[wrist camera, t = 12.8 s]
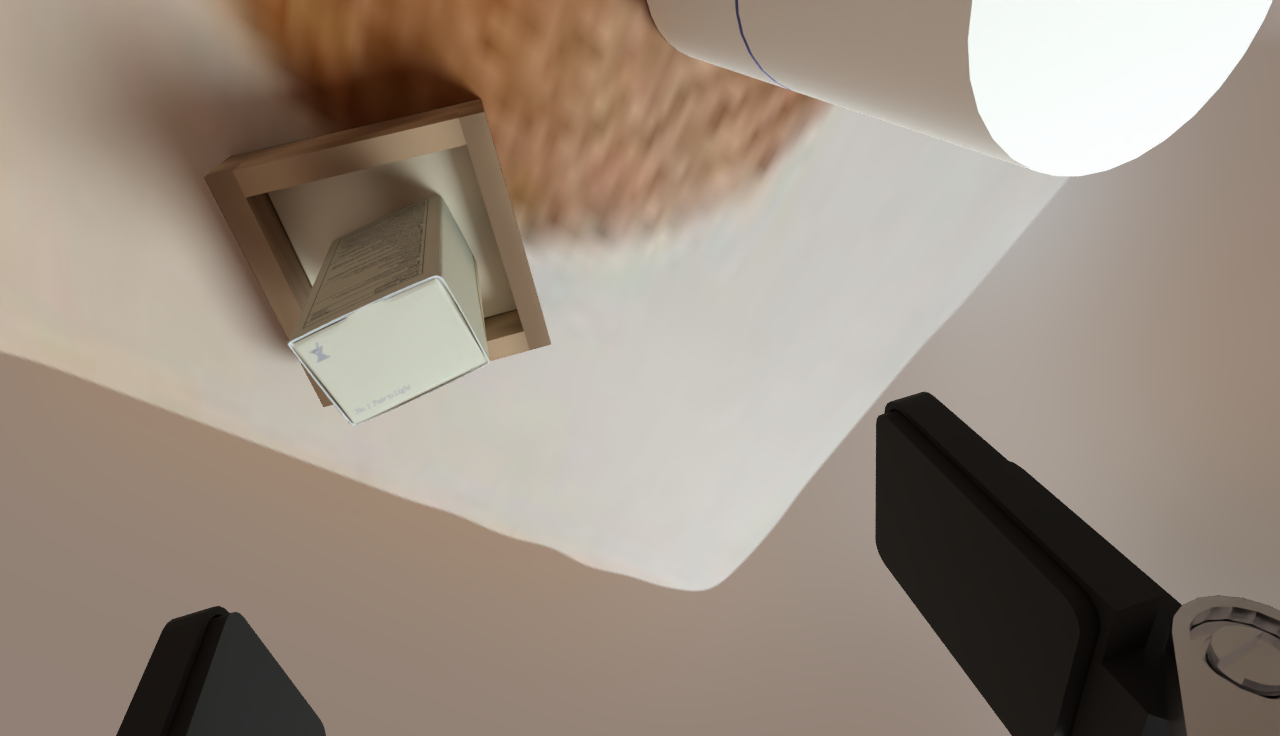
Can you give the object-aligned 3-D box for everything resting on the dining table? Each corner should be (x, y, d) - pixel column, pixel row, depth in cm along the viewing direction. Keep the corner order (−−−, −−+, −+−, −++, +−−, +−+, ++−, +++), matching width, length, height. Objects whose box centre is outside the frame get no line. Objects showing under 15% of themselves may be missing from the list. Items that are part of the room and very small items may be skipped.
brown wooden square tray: (481, 98, 34) (484, 111, 31) (542, 314, 41) (550, 344, 38) (229, 157, 33) (204, 177, 30) (334, 370, 40) (323, 407, 36)
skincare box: (376, 308, 37) (348, 434, 27) (328, 236, 35) (278, 345, 25) (482, 260, 37) (494, 368, 27) (442, 186, 35) (439, 273, 25)
